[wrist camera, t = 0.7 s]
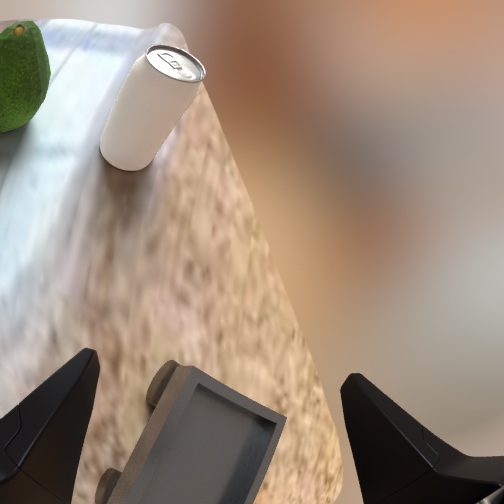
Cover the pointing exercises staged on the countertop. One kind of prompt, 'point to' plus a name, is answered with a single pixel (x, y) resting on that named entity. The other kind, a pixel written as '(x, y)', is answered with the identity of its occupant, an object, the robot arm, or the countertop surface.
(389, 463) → the robot arm
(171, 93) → the can
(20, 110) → the avocado
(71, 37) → the countertop surface
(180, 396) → the tray
